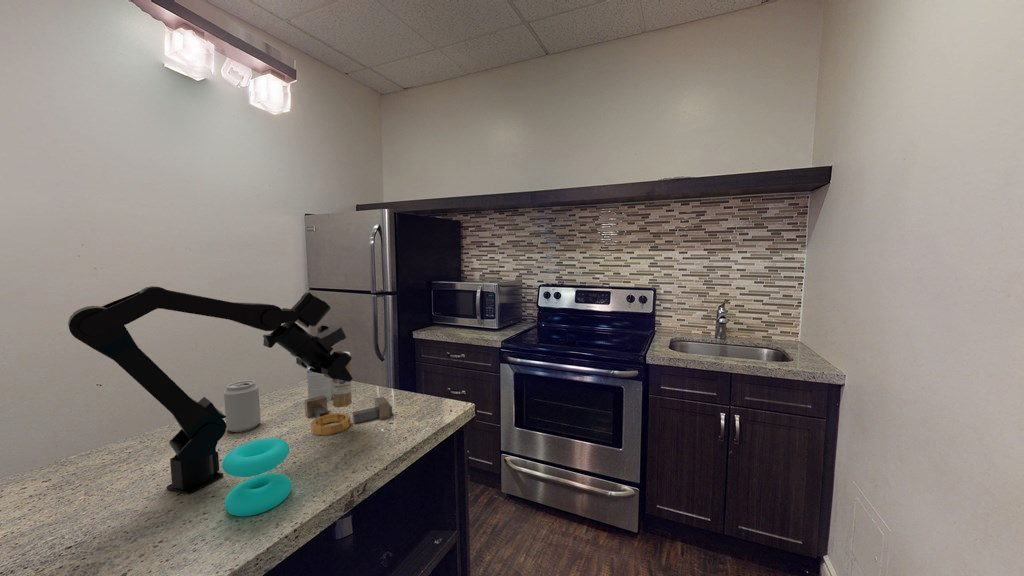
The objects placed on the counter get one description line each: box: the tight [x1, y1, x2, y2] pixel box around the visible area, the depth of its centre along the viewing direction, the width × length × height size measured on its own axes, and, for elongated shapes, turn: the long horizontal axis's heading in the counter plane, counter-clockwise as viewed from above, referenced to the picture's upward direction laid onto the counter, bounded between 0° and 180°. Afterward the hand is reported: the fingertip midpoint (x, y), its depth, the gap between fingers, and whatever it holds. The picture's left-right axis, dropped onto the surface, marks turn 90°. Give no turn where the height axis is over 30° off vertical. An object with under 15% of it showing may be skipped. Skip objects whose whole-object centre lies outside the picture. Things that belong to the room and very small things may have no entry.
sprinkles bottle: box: [332, 351, 353, 408], centre depth 97 cm, size 5×5×14 cm
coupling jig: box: [304, 395, 393, 436], centre depth 103 cm, size 17×25×4 cm
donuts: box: [221, 437, 293, 517], centre depth 68 cm, size 10×10×10 cm
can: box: [223, 379, 262, 433], centre depth 100 cm, size 8×8×12 cm
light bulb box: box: [306, 367, 333, 401], centre depth 123 cm, size 11×7×11 cm, turn 17°
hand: (346, 378), depth 98 cm, fingers closed on sprinkles bottle, 4 cm apart
